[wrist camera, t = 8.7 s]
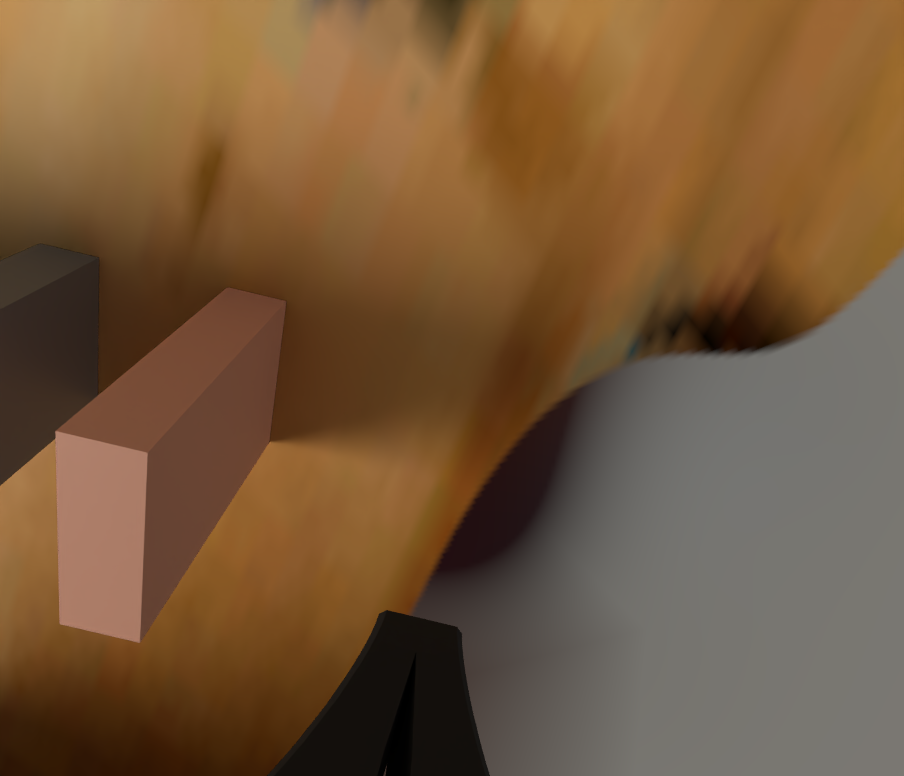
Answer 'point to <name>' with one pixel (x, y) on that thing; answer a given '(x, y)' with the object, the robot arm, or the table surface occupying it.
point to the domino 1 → (45, 347)
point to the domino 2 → (162, 462)
